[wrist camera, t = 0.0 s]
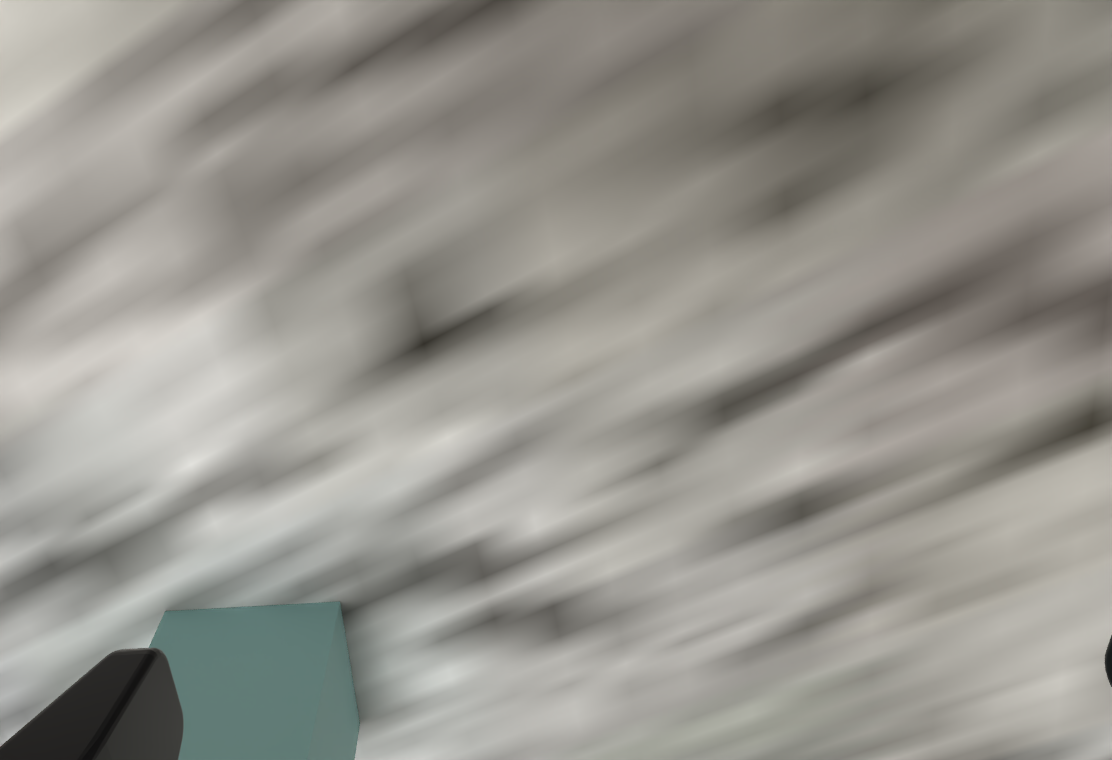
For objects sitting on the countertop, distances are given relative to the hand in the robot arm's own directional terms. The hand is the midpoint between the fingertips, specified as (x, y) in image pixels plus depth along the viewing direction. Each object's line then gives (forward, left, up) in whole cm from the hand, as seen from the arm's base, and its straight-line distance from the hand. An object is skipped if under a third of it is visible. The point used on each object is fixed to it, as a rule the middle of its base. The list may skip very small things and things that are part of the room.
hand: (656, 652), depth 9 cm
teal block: (-14, +9, -15) cm, 23 cm away
